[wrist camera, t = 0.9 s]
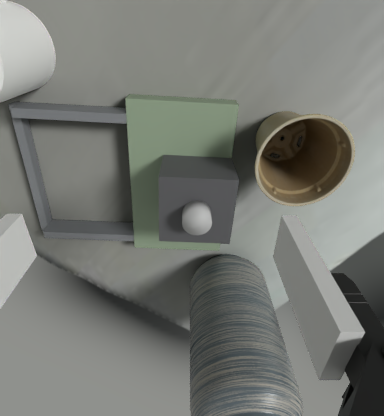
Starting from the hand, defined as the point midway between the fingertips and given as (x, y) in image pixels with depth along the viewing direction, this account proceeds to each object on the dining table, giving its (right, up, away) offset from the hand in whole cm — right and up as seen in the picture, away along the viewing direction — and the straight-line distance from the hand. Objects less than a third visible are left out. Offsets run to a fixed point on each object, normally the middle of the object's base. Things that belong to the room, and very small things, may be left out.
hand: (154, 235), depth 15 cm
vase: (+7, -9, +32) cm, 34 cm away
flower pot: (+13, +10, +20) cm, 26 cm away
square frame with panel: (-6, +6, +22) cm, 24 cm away
